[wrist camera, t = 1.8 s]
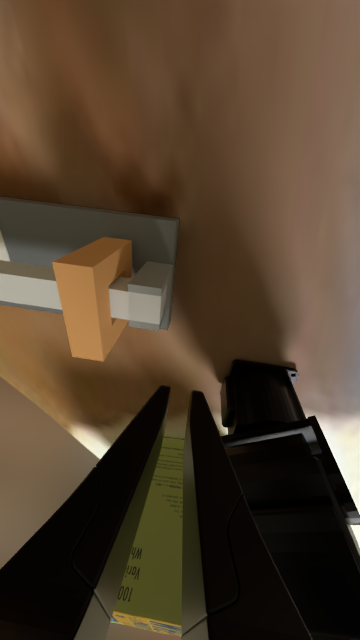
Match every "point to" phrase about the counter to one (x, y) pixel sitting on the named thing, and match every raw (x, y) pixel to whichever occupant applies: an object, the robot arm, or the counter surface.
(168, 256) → the pipe rig
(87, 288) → the collar
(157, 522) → the protein box
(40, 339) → the counter surface
